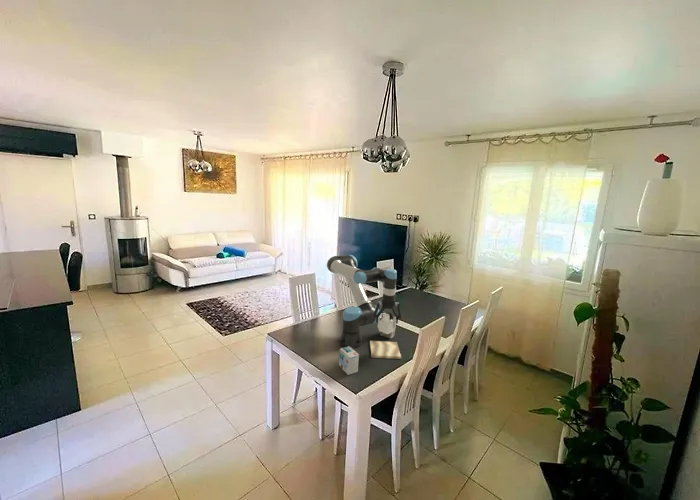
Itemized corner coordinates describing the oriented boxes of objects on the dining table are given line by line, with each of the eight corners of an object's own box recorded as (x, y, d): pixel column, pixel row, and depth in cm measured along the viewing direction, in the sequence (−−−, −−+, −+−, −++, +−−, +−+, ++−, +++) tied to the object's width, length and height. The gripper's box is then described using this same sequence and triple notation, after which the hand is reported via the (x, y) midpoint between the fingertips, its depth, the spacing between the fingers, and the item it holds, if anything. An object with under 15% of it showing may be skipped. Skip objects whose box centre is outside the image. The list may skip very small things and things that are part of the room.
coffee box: (379, 335, 211) (380, 313, 208) (383, 331, 216) (384, 311, 213) (391, 339, 206) (393, 317, 203) (394, 335, 211) (396, 314, 208)
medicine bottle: (384, 327, 193) (385, 309, 190) (393, 331, 188) (395, 313, 186) (378, 330, 187) (379, 313, 185) (387, 334, 183) (389, 316, 181)
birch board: (371, 357, 182) (371, 355, 181) (369, 342, 199) (370, 340, 199) (400, 358, 182) (401, 356, 181) (396, 344, 199) (396, 342, 199)
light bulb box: (338, 365, 171) (339, 348, 169) (348, 362, 175) (349, 345, 173) (348, 375, 163) (349, 357, 161) (358, 372, 166) (359, 354, 164)
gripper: (371, 295, 180) (369, 329, 184) (408, 297, 180) (405, 331, 184) (370, 291, 187) (368, 324, 191) (406, 292, 187) (403, 326, 191)
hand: (386, 327), depth 187 cm, fingers closed on medicine bottle, 10 cm apart
